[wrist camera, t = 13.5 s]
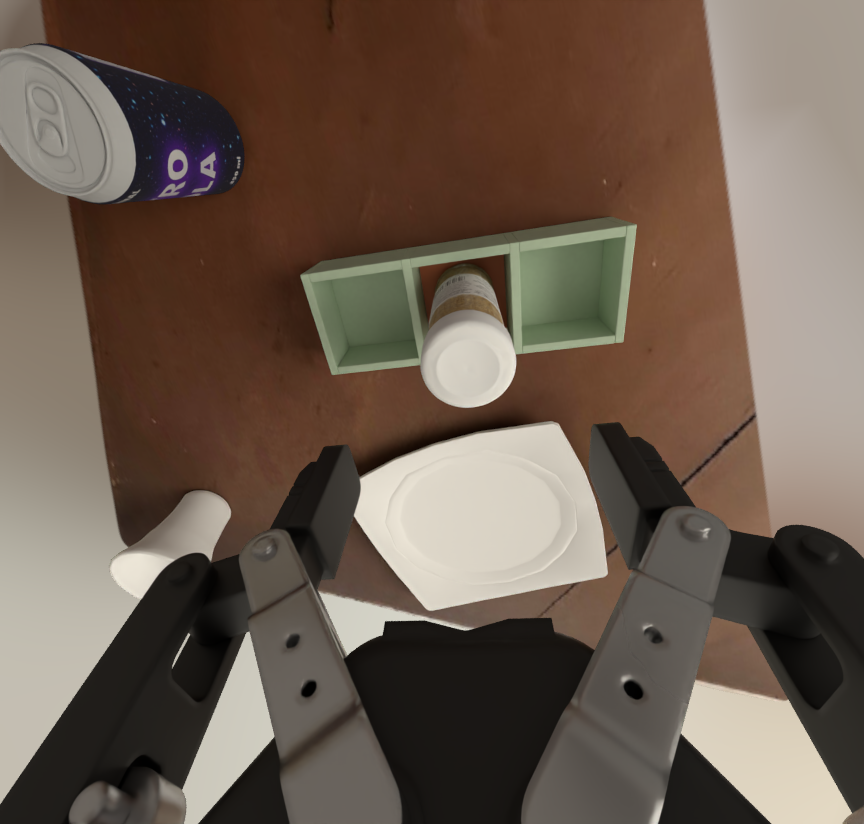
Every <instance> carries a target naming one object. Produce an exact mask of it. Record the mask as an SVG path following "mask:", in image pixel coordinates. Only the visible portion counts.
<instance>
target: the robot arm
mask: <svg viewBox="0 0 864 824" xmlns="http://www.w3.org/2000/svg"><path fill="white" fill-rule="evenodd" d="M589 473H590V478H591V481H592V484H593V486H594V488H595V491H596V493H597V496H598V498H599V500H600V503H601V505H602V508H603V510H604V512H605V515H606V517H607V519H608V522H609V524H610V527H611V529H612V531H613V534H614V536H615V538H616V541H617V543H618V546H619V548H620V550H621V553H622V555H623V558H624V560H625V562H626V565H627V567H628V569H629V570H631V569H633V571H632V572H631V574H630V576H629V578H628V581H627V583H626V585H625V587H624V589H623V591H622V593H621V596H620V598H619V600H618V602H617V604H616V606H615V608H614V610H613V613H612V615H611V617H610V619H609V621H608V623H607V625H606V628H605V630H604V632H603V634H602V636H601V638H600V640H599V643H598V645H597V647H596V649H595V650H593V649H592V648H590V647H589V646H587V645H586V644H584V643H582V642H580V641H578V640H576V639H574V638H572V637H569V636H567V635H564V634H561V633H557V632H554V629H553V624H552V619H551V618H524V619H506V620H503V621H499V622H496V623H493V624H489V625H486V626H482V627H479V628H475V629H472V630H467V631H464V630H459V629H455V628H451V627H447V626H443V625H440V624H436V623H431V622H428V621H387V622H386V621H385V625H384V632H383V635H382V636H379V637H376V638H374V639H372V640H370V641H367V642H366V643H364V644H362V645H360V646H359V647H358V648H356V649H355V650H354V651H352V652H351V653H350V654H349V655H348V656H347V654H346V651H345V649H344V648H343V645H342V643H341V641H340V639H339V636H338V634H337V632H336V630H335V628H334V625H333V623H332V621H331V619H330V617H329V614H328V612H327V610H326V608H325V606H324V603H323V601H322V599H321V596H320V594H319V592H318V590H317V589H318V586H319V584H320V581H321V580H325V579H334V578H335V575H336V572H337V568H338V565H339V562H340V559H341V556H342V552H343V549H344V546H345V543H346V539H347V536H348V533H349V530H350V526H351V523H352V520H353V517H354V513H355V510H356V507H357V504H358V501H359V497H360V492H361V484H360V478H359V475H358V472H357V469H356V466H355V463H354V460H353V457H352V454H351V451H350V448H349V446H348V445H336V446H325V447H324V448H323V450H322V452H321V454H320V456H319V458H318V460H317V462H310V463H309V464H308V465H307V466H306V467H305V468H304V469H303V470H302V471H301V472H300V473H299V475H298V477H297V479H296V481H295V483H294V486H292V488H291V490H290V492H289V496H287V498H286V500H285V501H284V503H283V505H282V507H281V509H280V511H279V513H278V515H277V517H276V518H275V520H274V522H273V524H272V526H271V528H270V530H267V531H264V532H262V533H259V534H258V535H256V536H255V537H253V538H252V539H251V540H250V541H248V542H247V543H246V545H245V546H244V547H243V549H242V550H241V552H240V554H238V555H235V556H232V557H229V558H226V559H223V560H220V561H217V562H213V563H211V561H210V560H209V558H208V557H207V556H206V555H205V554H203V553H190V554H187V555H184V556H182V557H180V558H178V559H176V560H174V561H173V562H171V563H170V564H169V565H167V566H166V567H165V568H164V569H163V570H162V571H161V572H160V573H159V575H158V576H157V577H156V579H155V580H154V582H153V583H152V584H151V586H150V587H149V589H148V590H147V592H146V593H145V595H144V596H143V598H142V599H141V600H140V602H139V604H138V605H137V606H136V608H135V609H134V611H133V612H132V614H131V615H130V616H129V618H128V619H127V621H126V622H125V624H124V625H123V627H122V628H121V630H120V631H119V632H118V634H117V635H116V637H115V638H114V640H113V641H112V643H111V644H110V646H109V647H108V648H107V650H106V651H105V653H104V654H103V656H102V657H101V659H100V660H99V662H98V663H97V665H96V666H95V667H94V669H93V671H92V672H91V673H90V675H89V676H88V678H87V679H86V680H85V682H84V683H83V685H82V686H81V688H80V689H79V691H78V692H77V694H76V695H75V696H74V698H73V699H72V701H71V702H70V704H69V705H68V707H67V708H66V710H65V711H64V712H63V714H62V715H61V717H60V718H59V720H58V721H57V723H56V724H55V726H54V727H53V728H52V730H51V731H50V733H49V734H48V736H47V737H46V739H45V740H44V742H43V743H42V744H41V746H40V748H39V749H38V750H37V752H36V753H35V755H34V756H33V758H32V759H31V760H30V762H29V763H28V765H27V766H26V768H25V769H24V771H23V772H22V774H21V775H20V776H19V778H18V780H17V781H16V782H15V784H14V785H13V787H12V788H11V790H10V791H9V793H8V794H7V795H6V797H5V798H4V800H3V801H2V803H1V804H0V824H184V821H185V815H186V798H185V796H184V793H183V792H182V789H183V786H184V784H185V781H186V779H187V776H188V774H189V771H190V769H191V767H192V764H193V762H194V759H195V757H196V754H197V752H198V749H199V747H200V745H201V742H202V739H203V737H204V735H205V732H206V730H207V727H208V725H209V722H210V720H211V718H212V715H213V713H214V710H215V708H216V705H217V703H218V700H219V698H220V696H221V693H222V691H223V688H224V686H225V683H226V681H227V678H228V676H229V673H230V671H231V669H232V666H233V664H234V661H235V659H236V656H237V654H238V651H239V649H240V647H241V644H242V642H243V639H244V637H245V634H246V632H249V631H250V635H251V639H252V643H253V647H254V652H255V656H256V660H257V664H258V668H259V672H260V676H261V681H262V685H263V689H264V693H265V698H266V702H267V706H268V710H269V714H270V719H271V723H272V727H273V731H274V735H275V737H274V738H273V739H272V740H271V742H270V743H269V744H268V745H267V746H266V747H265V748H264V750H263V751H262V752H261V753H260V754H259V755H258V756H257V758H256V759H255V760H254V761H253V762H252V763H251V764H250V765H249V767H248V768H247V769H246V770H245V771H244V772H243V773H242V775H241V776H240V777H239V778H238V779H237V780H236V781H235V782H234V784H233V785H232V786H231V787H230V788H229V789H228V790H227V792H226V793H225V794H224V795H223V796H222V797H221V798H220V800H219V801H218V802H217V803H216V804H215V805H214V806H213V807H212V809H211V810H210V811H209V812H208V813H207V814H206V815H205V817H204V818H203V819H202V820H201V821H200V822H199V823H198V824H771V823H770V822H769V821H768V820H767V819H766V818H765V817H764V816H763V815H762V814H761V813H760V812H759V811H758V810H757V809H756V808H755V807H754V806H753V805H752V804H751V803H750V802H749V801H748V800H747V799H746V798H745V797H744V796H743V795H742V794H741V793H740V792H739V791H738V790H737V789H736V788H735V787H734V786H733V785H732V784H731V783H730V782H729V781H728V780H727V779H726V778H725V777H724V776H723V775H722V774H721V773H720V772H719V771H718V770H717V769H716V768H715V767H714V766H713V765H712V764H711V763H710V762H709V761H708V760H707V759H706V758H705V757H704V756H703V755H702V754H701V753H700V752H699V751H698V750H697V749H696V748H695V747H694V746H693V745H692V744H691V743H690V742H688V740H687V739H686V738H685V737H684V736H683V735H682V734H681V730H682V726H683V722H684V719H685V714H686V711H687V708H688V704H689V700H690V696H691V693H692V689H693V685H694V682H695V678H696V674H697V671H698V667H699V663H700V660H701V656H702V652H703V648H704V645H705V641H706V637H707V634H708V630H709V626H710V623H711V619H712V616H713V617H717V618H720V619H724V620H728V621H732V622H736V623H740V624H743V625H747V626H748V628H749V630H750V632H751V633H752V635H753V637H754V639H755V641H756V642H757V644H758V646H759V648H760V650H761V651H762V653H763V655H764V657H765V658H766V660H767V662H768V664H769V666H770V667H771V669H772V671H773V673H774V674H775V676H776V678H777V680H778V682H779V683H780V685H781V687H782V689H783V691H784V692H785V694H786V696H787V698H788V699H789V701H790V703H791V705H792V707H793V708H794V710H795V712H796V714H797V715H798V717H799V719H800V721H801V723H802V724H803V726H804V728H805V730H806V731H807V733H808V735H809V737H810V739H811V740H812V742H813V744H814V746H815V748H816V749H817V751H818V753H819V755H820V756H821V758H822V760H823V762H824V764H825V765H826V767H827V769H828V771H829V772H830V774H831V776H832V778H833V780H834V781H835V783H836V785H837V787H838V789H839V790H840V792H841V794H842V796H843V797H844V799H845V801H846V803H847V804H848V806H849V808H850V810H851V812H852V814H851V815H850V816H848V817H847V818H846V819H845V821H844V822H843V824H864V558H863V557H862V556H861V555H860V554H859V553H858V552H857V551H856V550H855V549H854V548H852V546H851V545H849V544H848V543H847V542H845V541H844V540H842V539H841V538H839V537H837V536H835V535H833V534H831V533H829V532H826V531H824V530H821V529H818V528H815V527H810V526H804V525H789V526H785V527H782V528H781V529H779V530H778V531H777V533H776V534H775V537H774V538H769V537H764V536H758V535H753V534H747V533H742V532H737V531H733V530H730V529H728V528H727V526H726V525H725V524H724V523H723V522H722V521H721V520H720V519H719V518H718V517H716V516H715V515H713V514H711V513H709V512H707V511H705V510H702V509H699V508H696V507H695V505H694V504H693V502H692V501H691V499H690V498H689V496H688V495H687V494H686V492H685V491H684V489H683V488H682V486H681V485H680V484H679V482H678V481H677V479H676V478H675V476H674V475H673V474H672V472H671V471H669V468H668V466H667V465H666V464H665V462H664V461H662V458H661V456H660V455H659V453H658V452H657V451H656V449H655V448H654V446H652V445H651V444H649V443H648V442H646V441H645V440H643V439H642V438H640V437H630V438H629V436H628V435H627V433H626V431H625V430H624V428H623V427H622V425H621V424H620V423H619V422H615V423H603V424H593V426H592V429H591V440H590V452H589ZM188 633H189V634H190V636H189V638H188V640H187V642H186V644H185V646H184V648H183V650H182V652H181V653H180V655H179V657H178V659H177V661H176V663H175V665H174V667H173V669H172V665H173V662H174V659H175V657H176V655H177V653H178V651H179V649H180V647H181V645H182V643H183V642H184V640H185V638H186V636H187V634H188Z"/></svg>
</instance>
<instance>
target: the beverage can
mask: <svg viewBox="0 0 864 824" xmlns="http://www.w3.org/2000/svg"><path fill="white" fill-rule="evenodd" d="M0 144H1V146H2V147H3V148H4V150H5V151H6V152H7V154H8V155H9V156H10V157H11V159H12V160H13V161H14V162H15V163H16V164H17V165H18V166H19V167H20V168H21V169H22V170H23V171H24V172H25V173H26V174H27V175H29V176H30V177H31V178H33V179H34V180H35V181H37V182H38V183H40V184H41V185H43V186H45V187H46V188H49V189H51V190H53V191H55V192H58V193H61V194H64V195H68V196H74V197H76V198H78V199H80V200H83V201H86V202H90V203H94V204H114V203H125V202H136V201H146V200H157V199H168V198H178V197H189V196H200V195H211V194H220V193H224V192H226V191H228V190H230V189H231V188H232V187H234V186H235V184H236V183H237V182H238V180H239V179H240V177H241V174H242V171H243V167H244V148H243V143H242V139H241V136H240V133H239V130H238V128H237V126H236V124H235V122H234V120H233V119H232V117H231V116H230V114H229V113H228V112H227V111H226V109H225V108H224V107H223V106H222V105H221V104H220V103H219V102H218V101H217V100H215V99H214V98H213V97H211V96H210V95H208V94H206V93H204V92H202V91H200V90H197V89H193V88H190V87H187V86H184V85H180V84H177V83H174V82H171V81H168V80H164V79H161V78H158V77H155V76H151V75H148V74H145V73H142V72H138V71H135V70H132V69H129V68H126V67H122V66H119V65H116V64H113V63H109V62H106V61H103V60H100V59H96V58H93V57H90V56H87V55H84V54H80V53H77V52H74V51H71V50H67V49H64V48H61V47H58V46H54V45H50V44H42V43H38V44H30V45H26V46H24V47H21V48H10V49H5V50H2V51H0Z"/></svg>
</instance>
